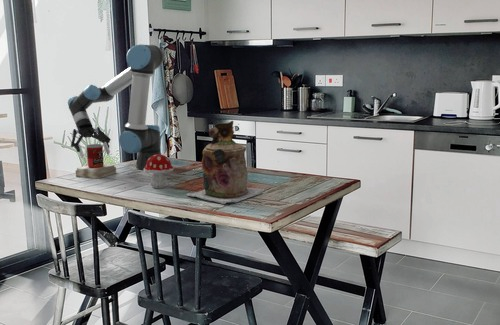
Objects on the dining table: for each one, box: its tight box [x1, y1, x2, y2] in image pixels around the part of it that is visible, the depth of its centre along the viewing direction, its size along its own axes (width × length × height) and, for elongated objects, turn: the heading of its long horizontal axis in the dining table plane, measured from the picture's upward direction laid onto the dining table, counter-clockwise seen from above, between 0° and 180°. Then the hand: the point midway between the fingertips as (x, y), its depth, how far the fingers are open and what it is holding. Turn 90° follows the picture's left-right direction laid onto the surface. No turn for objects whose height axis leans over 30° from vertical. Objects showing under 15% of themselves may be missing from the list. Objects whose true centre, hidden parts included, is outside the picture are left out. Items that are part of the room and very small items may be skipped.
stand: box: [75, 163, 117, 179], centre depth 271 cm, size 14×14×4 cm
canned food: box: [86, 143, 105, 168], centre depth 269 cm, size 8×8×11 cm
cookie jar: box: [186, 120, 265, 205], centre depth 223 cm, size 25×25×32 cm
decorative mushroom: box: [143, 153, 175, 189], centre depth 242 cm, size 14×14×15 cm
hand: (95, 154), depth 268 cm, fingers open, 13 cm apart
